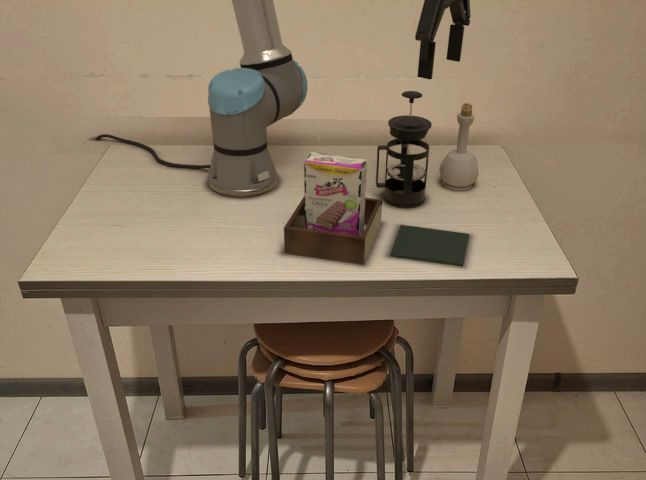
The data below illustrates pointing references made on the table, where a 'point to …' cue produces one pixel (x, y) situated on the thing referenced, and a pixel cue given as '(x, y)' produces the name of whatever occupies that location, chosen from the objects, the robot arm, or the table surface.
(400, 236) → the mat
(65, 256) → the table surface
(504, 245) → the table surface
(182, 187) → the table surface
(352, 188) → the candy bar box
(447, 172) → the potion bottle
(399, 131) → the french press
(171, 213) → the table surface
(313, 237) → the crate
